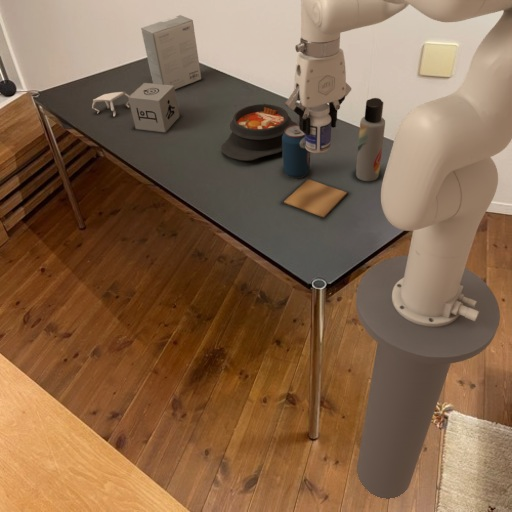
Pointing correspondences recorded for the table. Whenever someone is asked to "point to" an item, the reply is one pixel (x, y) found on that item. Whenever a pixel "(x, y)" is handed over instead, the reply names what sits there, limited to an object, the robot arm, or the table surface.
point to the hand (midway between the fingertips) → (318, 128)
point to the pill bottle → (319, 130)
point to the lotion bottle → (370, 141)
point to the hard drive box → (172, 51)
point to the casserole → (256, 132)
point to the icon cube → (154, 107)
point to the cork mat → (315, 198)
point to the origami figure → (109, 100)
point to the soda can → (295, 152)
